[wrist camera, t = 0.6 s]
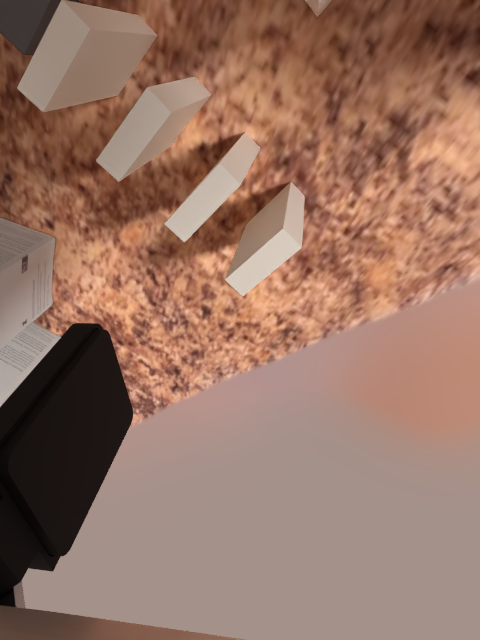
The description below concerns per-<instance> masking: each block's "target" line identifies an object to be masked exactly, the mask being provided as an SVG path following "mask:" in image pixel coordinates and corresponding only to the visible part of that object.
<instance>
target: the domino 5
mask: <svg viewBox="0 0 480 640" xmlns="http://www.w3.org/2000/svg"><path fill="white" fill-rule="evenodd" d="M331 1H332V0H305V2H306V3H307V4H308V6H309V7H310V8H311V10H312V11H313V12H314V14H315V15H316V16H317V17H318V16H319V15H320V14H321V13H322V11H323V10H324V9H325V8H326V7H327V6H328V4H329V3H330V2H331Z"/></svg>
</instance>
